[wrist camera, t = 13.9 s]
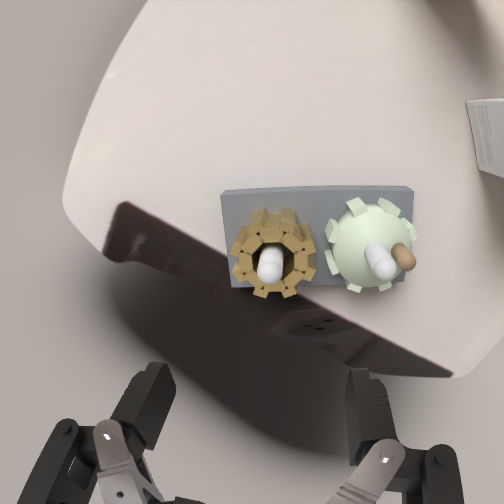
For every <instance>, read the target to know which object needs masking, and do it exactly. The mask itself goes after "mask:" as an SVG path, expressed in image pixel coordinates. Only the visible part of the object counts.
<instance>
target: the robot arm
mask: <svg viewBox="0 0 504 504" xmlns="http://www.w3.org/2000/svg"><path fill="white" fill-rule="evenodd" d="M175 395H176V385H175V382H174V380H173V377H172V374H171V372H170V369H169V367H168V365H167V364H166V363H158V362H150V363H149V364H148V366H147V367H146V370H145V371H140V372H138V373H137V374H136V375H135V376H134V377H133V378H132V380H131V382H130V383H129V385H128V388H126V390H125V392H124V394H123V396H122V397H121V400H120V401H119V403H118V405H117V407H116V408H115V410H114V412H113V414H112V416H111V417H110V419H107V420H103V421H101V422H99V423H98V424H97V425H96V426H79V425H78V424H77V422H76V421H75V420H73V419H69V418H68V419H63V420H61V421H59V422H58V423H57V425H56V426H55V428H54V430H53V432H52V434H51V435H50V437H49V439H48V441H47V443H46V444H45V446H44V448H43V450H42V452H41V454H40V456H39V458H38V460H37V462H36V464H35V466H34V468H33V470H32V472H31V474H30V476H29V478H28V480H27V482H26V484H25V486H24V489H23V491H22V493H21V495H20V498H19V500H18V502H17V504H88V503H89V500H90V498H91V495H92V493H93V490H94V487H95V485H96V482H97V480H98V482H99V486H100V489H101V493H102V497H103V500H104V503H105V504H205V503H202V502H200V501H194V500H190V499H185V498H181V497H175V500H174V501H166V502H165V500H164V498H163V496H162V495H161V493H160V492H159V490H158V489H157V487H156V485H155V483H154V481H153V478H152V476H151V473H150V471H149V468H148V466H147V463H146V461H145V458H144V456H143V452H144V449H148V450H154V447H155V444H156V442H157V439H158V437H159V435H160V432H161V430H162V427H163V425H164V422H165V420H166V417H167V415H168V412H169V410H170V407H171V405H172V402H173V400H174V397H175ZM344 401H345V412H346V422H347V432H348V445H349V459H350V466H355V465H357V468H356V470H355V471H354V472H353V473H352V475H351V476H350V477H349V478H348V480H347V481H346V482H345V483H344V484H343V486H341V487H340V488H339V489H338V490H337V491H336V492H335V494H334V495H333V496H332V497H331V498H330V499H329V500H328V501H327V502H326V503H325V504H376V502H377V500H378V499H379V497H380V496H381V494H382V493H383V492H384V491H393V492H402V504H464V498H463V490H462V484H461V477H460V472H459V466H458V461H457V456H456V453H455V451H454V450H453V449H452V448H451V447H450V446H448V445H445V444H439V445H435V446H433V447H432V448H430V449H429V450H417V449H410V448H407V447H405V446H404V445H402V444H401V443H400V442H399V440H398V438H397V436H396V432H395V427H394V422H393V417H392V413H391V408H390V404H389V400H388V395H387V391H386V388H385V386H384V385H383V384H382V383H381V381H380V380H379V379H370V378H369V372H368V369H367V368H357V369H350V370H349V374H348V379H347V384H346V388H345V399H344ZM74 457H75V459H74ZM73 459H74V461H73ZM72 461H73V464H72ZM71 464H72V466H71ZM70 466H71V468H70ZM69 468H70V470H69ZM68 470H69V472H68Z"/></svg>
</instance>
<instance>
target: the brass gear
mask: <svg viewBox="0 0 504 504" xmlns="http://www.w3.org/2000/svg"><path fill="white" fill-rule="evenodd" d="M269 242H281V243H283V244H284V245H285V246H286V247H287V248H288V249H290V250H291V252H290V253H289V254H288V255H287V256H286V257H285V258H283V272H282V277H281V279H280V280H279V282H277V283H276V284H273V285H266V284H264V283H262V282H261V281H260V280H259V278H258V276H257V269H258V264H259V260H260V255H261V252H260V251H259V250H258V247H259V246H260V245H261V244H262V243H269ZM314 252H316V247H315V242H314V237H313V233H312V230H311V228H310V226H309V224H308V222H306V223H304V224H302V225H299V224H298V223H297V222H296V221H295V210H292V209H290V208H287V207H284V206H282V208H281V211H280V214H268V212H267V211H266V209H265V207H263V208H261V209H258V210H256V211H254V212H253V213H252V216H251V218H250V220H249V223H248V225H247V226H245V225H241V227H240V229H239V231H238V234H237V236H236V238H235V240H234V242H233V245H232V248H231V252H230V254H231V255H234V256H237V260H236V263H235V265H234V268H233V270H232V273H233V274H234V276H235V278H236V279H237V281H238V283H240V282H242V281H245V280H247V281H249V282H250V283H251V284H252V285H254V286H255V288H254V292H253V294H254V295H257V296H260V297H263V298H266V297H267V295H268V292H273V291H281V292H282V294H283V296H284V298H287V297H289V296H292V295H295V294H297V283H298V282H299V281H300V280H301V279H304V280H307V281H310V282H311V280H312V278H313V276H314V273H315V271H316V266H315V259H314V254H313V253H314Z"/></svg>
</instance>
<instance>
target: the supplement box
mask: <svg viewBox="0 0 504 504" xmlns="http://www.w3.org/2000/svg"><path fill="white" fill-rule="evenodd" d="M466 105H467V109H468V114H469V119H470V123H471V128H472V133H473V139H474V145H475V151H476V158H477V164H478V169H479V170H482V171H485V172H487V173H490V174H493V175H496V176H499V177H501V178H504V98H488V99H478V100H470V101H466Z"/></svg>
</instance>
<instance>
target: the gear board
mask: <svg viewBox="0 0 504 504" xmlns="http://www.w3.org/2000/svg"><path fill="white" fill-rule="evenodd" d="M220 198H221V206H222V215H223V223H224V231H225V239H226V247H227V255H228V262H229V270H230V278H231V285H232V287H255V286H254V285H252V284H251V283H250V282H249V281H247V280H245V281H242V282H240V283H238V281H237V279H236V278H235V276H234V274H233V273H232V270H233V268H234V265H235V263H236V260H237V256H234V255H231V254H230V252H231V248H232V245H233V242H234V240H235V238H236V236H237V234H238V231H239V229H240V227H241V225H245V226H247V225H248V223H249V220H250V218H251V216H252V213H253V212H254V211H256V210H258V209H261V208H263V207H265V209H266V211H267V212H268V214H280V211H281V208H282V206H284V207H287V208H290V209H292V210H295V221H296V222H297V223H298V224H299V225H302V224H304V223H306V222H308V224H309V226H310V228H311V230H312V233H313V237H314V242H315V247H316V252H314V253H313V254H314V259H315V266H316V271H315V273H314V276H313V278H312V280H311V282H310V281H307V280H304V279H301V280H300V281H299V282H298V283H297V286H323V285H346V286H347V289H349V290H352V291H355V292H358V293H360V291H361V289H362V287H377V286H378V289H379V291H380V292H381V291H384V290H386V289H388V288H391V287H392V284H391V282H404V277H405V271H407V272H409V271H411V270H412V269H413V268H414V267H415V265H416V258H415V257H414V256H413V254H412V253H411V242H413V241H415V240H417V239H418V238H417V234H416V230H415V227H414V226H413V225H412V213H413V200H414V191H413V190H411V189H410V188H408V187H406V186H302V187H276V188H256V189H240V190H225V191H224V192H223V193H222V194H221V195H220ZM258 250H259V251H260V252H261V255H260V260H259V264H258V269H257V276H258V278H259V280H260V281H261V282H262V283H264V284H266V285H273V284H276V283H277V282H279V280H280V279H281V277H282V272H283V258H285V257H286V256H287V255H288V254H289V253H290V252H291V250H290V249H288V248H287V247H286V246H285V245H284V244H283V243H281V242H269V243H262V244H261V245H260V246H259V247H258Z"/></svg>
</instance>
